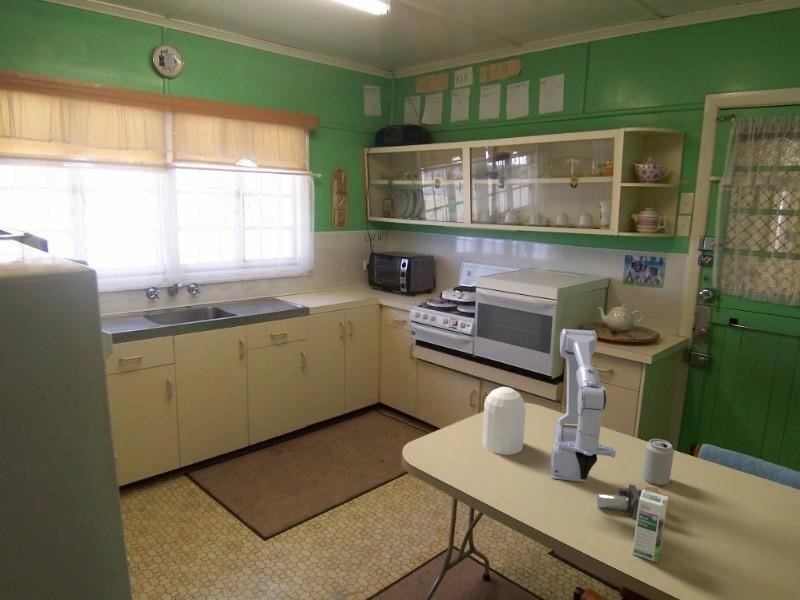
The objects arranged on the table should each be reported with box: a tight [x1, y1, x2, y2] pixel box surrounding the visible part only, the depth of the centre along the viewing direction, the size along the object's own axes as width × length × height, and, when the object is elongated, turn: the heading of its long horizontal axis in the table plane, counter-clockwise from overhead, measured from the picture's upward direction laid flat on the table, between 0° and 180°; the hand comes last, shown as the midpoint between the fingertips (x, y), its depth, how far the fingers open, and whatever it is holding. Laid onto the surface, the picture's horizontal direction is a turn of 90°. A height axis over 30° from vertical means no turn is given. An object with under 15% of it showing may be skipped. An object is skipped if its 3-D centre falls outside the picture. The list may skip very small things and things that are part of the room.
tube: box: [596, 492, 634, 513], centre depth 145 cm, size 12×4×4 cm, turn 79°
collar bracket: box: [617, 484, 661, 520], centre depth 145 cm, size 10×10×6 cm
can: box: [641, 438, 675, 486], centre depth 160 cm, size 8×8×12 cm
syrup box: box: [631, 489, 669, 563], centre depth 127 cm, size 6×6×14 cm
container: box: [482, 386, 527, 456], centre depth 178 cm, size 14×13×20 cm
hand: (583, 477), depth 146 cm, fingers closed
